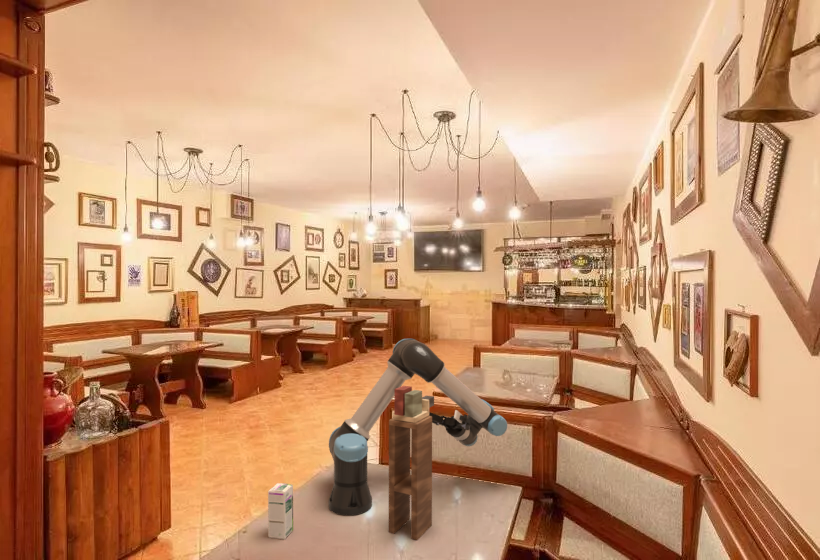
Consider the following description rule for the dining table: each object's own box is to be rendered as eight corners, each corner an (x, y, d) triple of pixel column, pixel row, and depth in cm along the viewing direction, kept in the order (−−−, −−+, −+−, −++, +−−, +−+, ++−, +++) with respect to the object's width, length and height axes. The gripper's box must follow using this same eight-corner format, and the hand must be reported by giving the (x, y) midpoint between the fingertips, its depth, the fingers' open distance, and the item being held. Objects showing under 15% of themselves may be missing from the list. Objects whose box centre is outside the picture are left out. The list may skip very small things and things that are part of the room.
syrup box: (285, 539, 143) (285, 491, 143) (267, 537, 144) (267, 489, 144) (293, 530, 148) (293, 484, 149) (276, 528, 149) (276, 482, 150)
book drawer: (392, 419, 148) (392, 389, 148) (419, 406, 165) (419, 378, 165) (415, 422, 144) (415, 391, 144) (440, 409, 161) (440, 381, 161)
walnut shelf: (388, 532, 147) (389, 420, 148) (404, 518, 156) (405, 412, 157) (416, 540, 143) (417, 424, 143) (431, 525, 152) (432, 416, 152)
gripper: (486, 442, 177) (468, 426, 161) (426, 432, 188) (404, 417, 172) (489, 422, 180) (472, 405, 164) (430, 414, 192) (409, 397, 176)
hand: (437, 411), depth 168 cm, fingers open, 13 cm apart
